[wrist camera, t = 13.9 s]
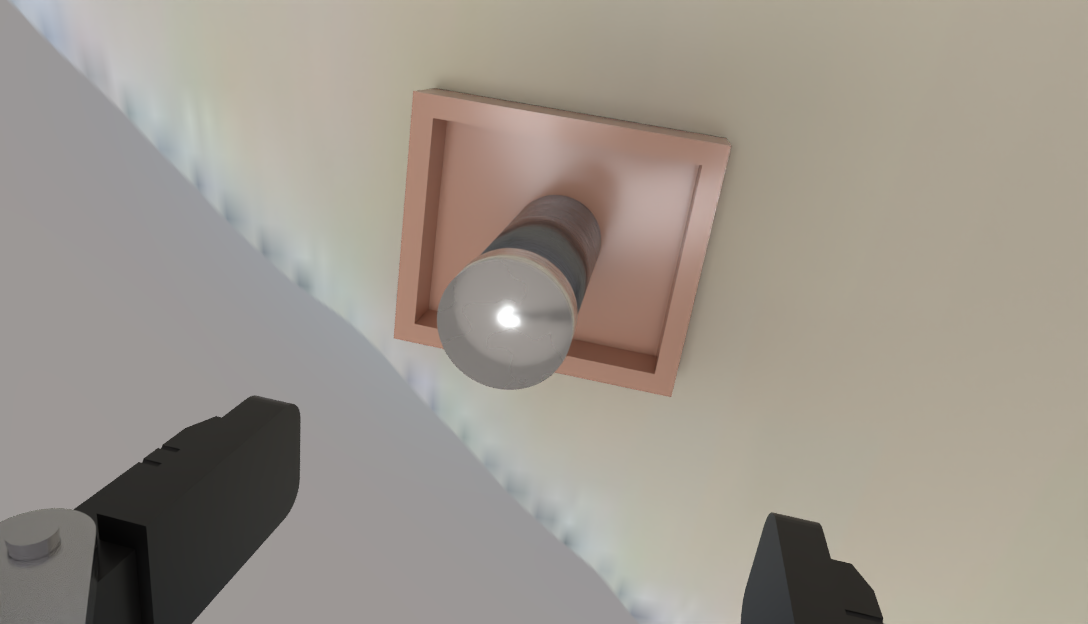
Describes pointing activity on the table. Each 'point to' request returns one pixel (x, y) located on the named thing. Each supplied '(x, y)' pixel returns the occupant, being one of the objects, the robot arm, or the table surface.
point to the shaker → (522, 296)
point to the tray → (587, 176)
